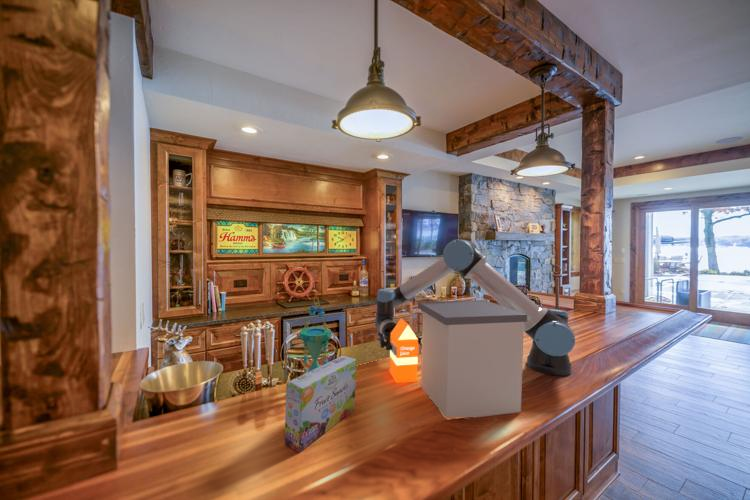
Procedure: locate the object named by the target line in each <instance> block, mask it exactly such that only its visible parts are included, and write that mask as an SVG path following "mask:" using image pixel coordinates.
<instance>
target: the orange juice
mask: <svg viewBox="0 0 750 500" xmlns="http://www.w3.org/2000/svg"><path fill="white" fill-rule="evenodd" d="M396 324H397V325H396V326H395V328H394V329H393V331H392V332H391V338H390V339H391V341H392V342H393V343H394V344H395V345H396V347H397V355H394V354H393V352H392V351H391V350H389V373H390V375H391V376H392V378H393V380H394V382H395V383H396V384H399V383H409V382H410V383H411V382H413V383H414V382H417V381H418V364H419V363H418V362H419V361H418V360H419V357H418V356H419V353H418V338H417V337H418V336H417V335H416V334H415V332H414V331H413V329H412V328H411V326H410V325H409V323H408V322H406V321H405V320H404V319H403V318H400V319H399V320H398V322H397V323H396ZM416 336H417V337H416Z"/></svg>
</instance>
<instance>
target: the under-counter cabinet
mask: <svg viewBox="0 0 750 500" xmlns="http://www.w3.org/2000/svg"><path fill="white" fill-rule="evenodd" d="M417 308H418V310H421V311H422V321H421V322H422V323H421V324H422V327H421V365H420V369H421V370H420V372H421V373H420V388H421V389H422V390H423V392H424V393H425V395H426V396H427V395H428V396H429V397H428V396H427V397H428V398H429V400H430V399H431V400H432V401H433V402H434V403H435V405H436V406H437V407H438V409H439V410H440V411H441V412H442V413H443V415H444V416H445V417H446V418H453V417H473V418H482V417H490V416H498V415H499V416H501V415H506V414H508V415H509V414H516V413H517V414H518V413H521V412H522V389H523V388H522V387H523V363H524V362H523V358H524V333H525V332H524V322H527V314H524V313H521V312H518V311H515V310H512V309H509V308H506V307H503V306H501V305H500V304H497V303H494V302H491V301H488V300H486V299H485V300H483V299H482V300H449V301H448V300H444V301H443V300H442V301H441V300H440V301H418V302H417ZM431 400H430V401H431ZM432 401H431V402H432ZM433 402H432V403H433ZM435 405H434V406H435ZM436 406H435V407H436ZM438 409H437V410H438ZM439 410H438V411H439Z"/></svg>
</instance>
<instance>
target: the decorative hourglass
mask: <svg viewBox="0 0 750 500" xmlns="http://www.w3.org/2000/svg"><path fill="white" fill-rule="evenodd" d="M315 299H317V302H315V301H313V303H314V304H313V305H311V306H309V310H308V314H309V318H308V319H307V320H306V322H305V324H304V327H303V329H300V331H299V339H300V340H301V341H303V342H302V344H303V346H302V348H303V349H304V350H302V352H303V355H304V356H302V359H303V360H302V363H303V364H305V365H304V367H303V373H302V375H303V374H305V373H307V372H310V371H312V370H314V369H316V368H318V367H320V366H321V365H320V363H319V362H318V359H319V357H320V355H321V353H322V352H323V353H324V354H322V355H321V356H322V357H323V359H322V360H323V361H322V362H321V363H322V365H324V364H326V363H328V362H329V361H328V357H329V355H327V353H328V352H329V349H328V348H329V345H328V344H329V341H328V340H330V339H331V338H332V333H333V332H332V330H331V329H330V328H328V324H327V323H326V322H325V321H324V315H325V311H324V307H323V306H320V305H321V304H320V301H319V297H317V296H315V297H314V298H313V300H315ZM316 312H317V317H321V318H322V319H321V320H322V321H323V324H322V326H312V327H309V325H310V323H311V322H310V319H311V316H313V315H316ZM308 353H309V354H308ZM308 355H310V356H311V358H312V363H311V364H310V366H309V367H307V366H306V365H307V364H308V363H309V360H308V359H309V356H308Z"/></svg>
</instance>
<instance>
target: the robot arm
mask: <svg viewBox="0 0 750 500" xmlns="http://www.w3.org/2000/svg"><path fill="white" fill-rule="evenodd" d="M442 252H443V253H442V256H443V257H442V258H440V259H438V260H437V261H436V262H434V263H433V264H431V265H430V266H428V267H427V268H425V269H424V270H422V271H421V272H419V273H417V274H416V275H414V276H413V277H412V278H410V279H409V280H407V281H406V282H404V283H402V284H401V285H399V286H398V287H396V288H394V289H391V288H379V289H378V290H377V294H376V316H375V319H374V325H375V327H376V329H377V330H378V333H377V340H378V341H379V344H380V348H381V349H383V348H385V351H390V350H391V351H392V352H393V354H394V355H397V347H396V345H395V344H394V343H393V342H392V341H391V339H390V338H391V332H392V331H393V329H394V328H395V326H396V325H397V323H396V322H395V321H394V311H395V310H394V309H395V308H396V307H398V306H401V305H403V304H405V302H406V301H408V300H410V299H412V298H413V297H414V296H416V295H418V294H419V293H421V292H422V291H424V290H426V289H427V288H429V287H430V286H432V285H434V284H435V283H437V282H438V281H440V280H442V279H444V278H446V277H447V276H449V275H450V274H451V273H458V274H459V275H460V276H461V277H463V278H464V279H471V280H472V282H474V283H475V284H477V285H478V286H479V287H480V288H481V289H482V290H483V291H484V292H485V293H486V294H488V295H489V296H490V297H491V298H492V299H494V301H496V303H498V305H500V306H503V307H506V308H509V309H512V310H515V311H518V312H521V313H524V314H527V322H524V333H525V334H526V335H527V336H528V337H530V339H531V340H532V346H531V349H530V350H529V353H528V355H527V358H526V365H527V366H528V367H529V368H531V369H533V370H535V371H537V372H539V373H543V374H546V373H548V374H547V375H551V374H553V375H552V376H568V375H569V376H570V375H571V374H572V371H573V369H572V367H573V365H572V364H571V362H570V361H571V360H570V357H569V353H571V352H572V351H573V349H574V347H575V345H576V344H575V343H576V336H575V334H574V331H573V329H572V328H571V327H570V325H569V314H568V313H569V312H567V311H566V310H563V309H556V308H548V307H540V305H538V304H536V303H535V302H534V301H533V300H531V298H530V297H529V296H527V295H526V294H525V293H523V292H522V291H521V290H520V289H518V287H516V286H515V285H514V284H513V283H512V282H511V281H509V280H508V279H507V278H506V277H504V275H503V274H501V273H500V272H499V271H497V269H495V268H494V267H493V266H492V265H490V264H489V263H488V262H487V256H486V255H485V254H484V253H482V252H481V251H480V250H479V249H478V247H477V245H476V244H475V243H474V242H473V241H471V240H468V239H464V238H463V239H462V238H457V239H453V240H451V241H450V242H448V243H447V244H446V245H445V247H444V249H443V251H442ZM416 337H417V338H418V355H420V354H421V355H422V337H419V336H418V335H416ZM385 340H386V341H385Z"/></svg>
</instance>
